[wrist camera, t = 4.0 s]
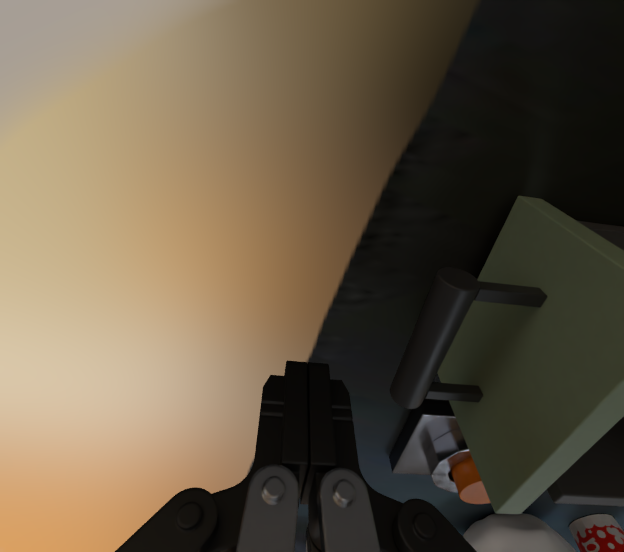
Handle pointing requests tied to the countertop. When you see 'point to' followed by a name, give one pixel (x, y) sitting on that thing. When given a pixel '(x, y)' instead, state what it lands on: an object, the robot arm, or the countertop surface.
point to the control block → (430, 444)
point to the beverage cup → (598, 534)
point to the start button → (469, 482)
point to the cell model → (515, 535)
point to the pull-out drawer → (531, 359)
